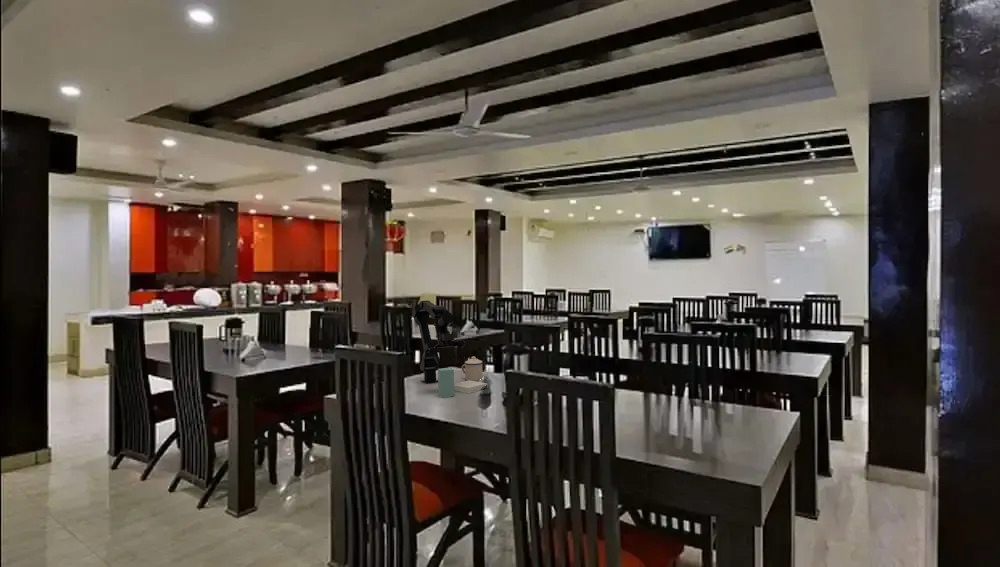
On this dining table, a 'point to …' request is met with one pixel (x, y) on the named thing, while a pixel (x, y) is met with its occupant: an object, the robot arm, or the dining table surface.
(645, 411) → the dining table surface
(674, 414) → the dining table surface
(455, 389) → the plate
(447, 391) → the teal block
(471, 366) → the teacup with lid
